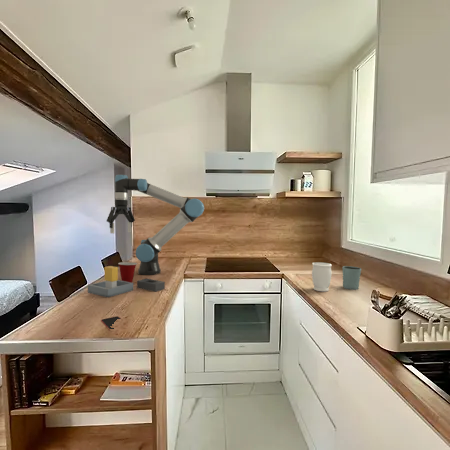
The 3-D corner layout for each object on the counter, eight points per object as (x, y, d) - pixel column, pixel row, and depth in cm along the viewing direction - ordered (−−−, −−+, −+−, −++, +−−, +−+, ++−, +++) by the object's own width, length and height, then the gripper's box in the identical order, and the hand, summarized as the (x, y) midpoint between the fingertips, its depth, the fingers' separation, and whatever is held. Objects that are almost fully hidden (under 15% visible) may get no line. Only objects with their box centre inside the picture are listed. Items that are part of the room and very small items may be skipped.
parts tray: (113, 285, 164) (113, 279, 164) (133, 290, 156) (133, 282, 156) (87, 292, 150) (87, 284, 150) (108, 297, 142) (108, 289, 142)
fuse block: (146, 285, 167) (146, 278, 167) (164, 288, 160) (164, 281, 160) (137, 287, 161) (137, 280, 161) (155, 291, 154) (155, 284, 154)
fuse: (110, 287, 156) (110, 265, 156) (117, 289, 153) (117, 267, 153) (104, 289, 153) (104, 267, 153) (111, 291, 150) (112, 268, 150)
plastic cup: (140, 281, 176) (140, 261, 175) (128, 285, 166) (129, 264, 165) (126, 279, 180) (126, 260, 179) (113, 283, 170) (113, 263, 169)
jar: (318, 292, 158) (319, 265, 157) (307, 287, 168) (308, 262, 167) (334, 291, 161) (335, 265, 160) (323, 286, 171) (324, 261, 170)
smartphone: (118, 315, 118) (130, 326, 107) (118, 317, 118) (130, 328, 107) (100, 319, 113) (111, 331, 102) (100, 320, 113) (111, 333, 102)
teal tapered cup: (338, 286, 173) (338, 266, 173) (351, 285, 177) (351, 265, 176) (350, 290, 164) (351, 269, 163) (364, 289, 167) (365, 268, 167)
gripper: (132, 200, 196) (132, 231, 197) (100, 198, 175) (100, 233, 176) (140, 200, 192) (140, 232, 193) (108, 198, 171) (108, 234, 172)
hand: (121, 232), depth 185 cm, fingers open, 13 cm apart
